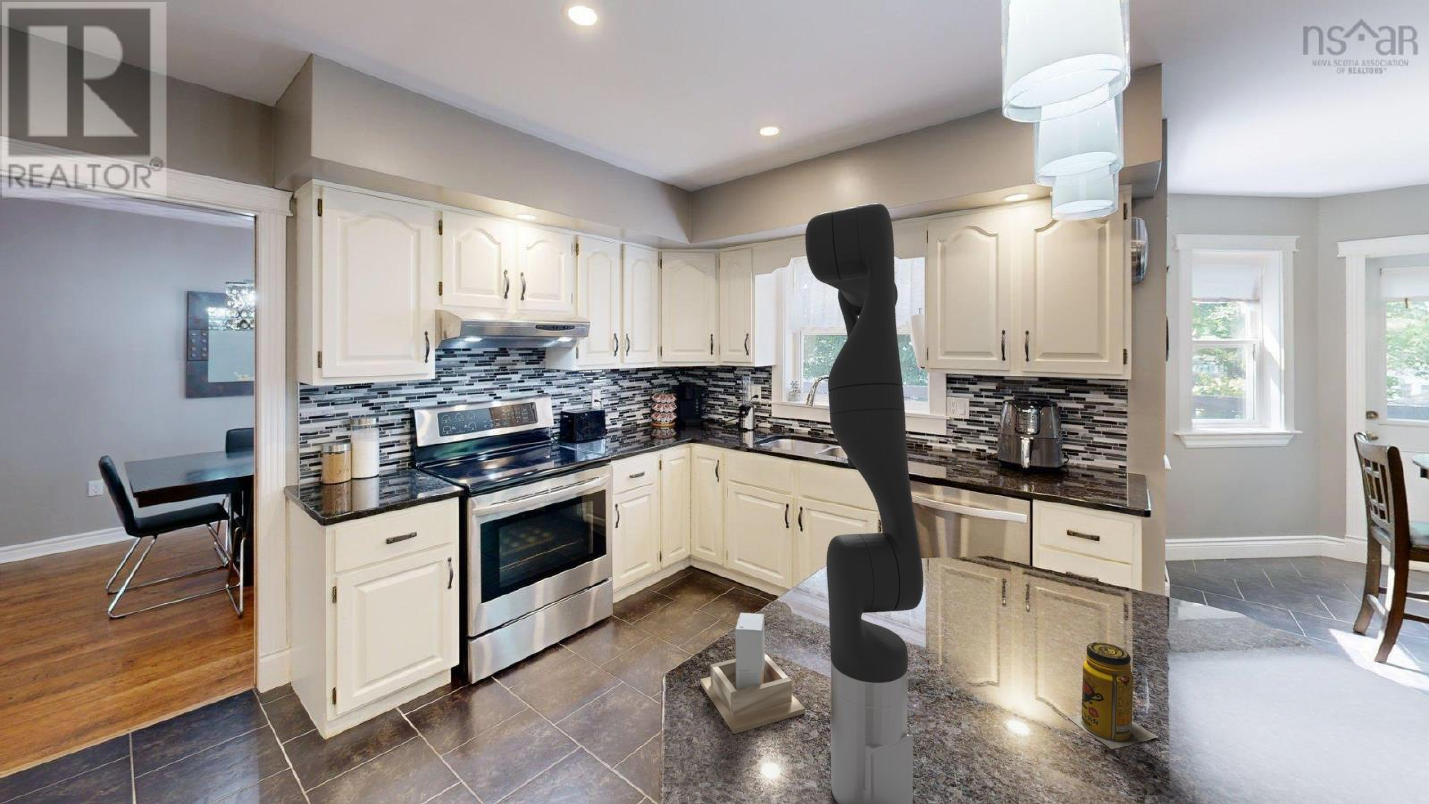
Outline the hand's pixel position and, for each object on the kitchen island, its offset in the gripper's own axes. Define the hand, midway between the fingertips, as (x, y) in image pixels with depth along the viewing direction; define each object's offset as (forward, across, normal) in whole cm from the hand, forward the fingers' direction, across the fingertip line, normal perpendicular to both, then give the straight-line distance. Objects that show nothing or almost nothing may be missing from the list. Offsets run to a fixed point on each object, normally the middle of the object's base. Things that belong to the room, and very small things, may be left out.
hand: (867, 470), depth 107 cm
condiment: (+33, +36, +16) cm, 52 cm away
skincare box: (+32, +8, -29) cm, 44 cm away
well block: (+33, +8, -29) cm, 45 cm away
